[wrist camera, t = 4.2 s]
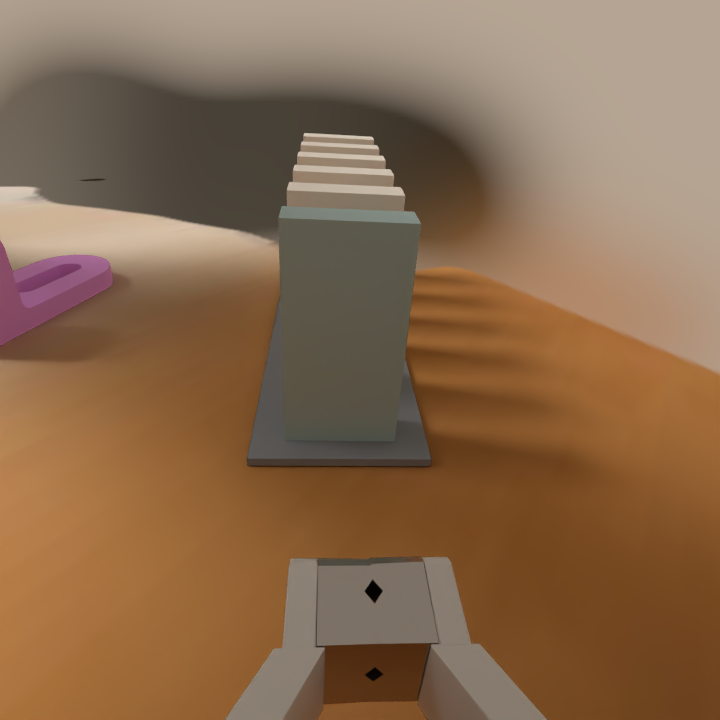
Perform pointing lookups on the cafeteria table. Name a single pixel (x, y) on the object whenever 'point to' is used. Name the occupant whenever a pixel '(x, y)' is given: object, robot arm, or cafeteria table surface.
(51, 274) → the bracket
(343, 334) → the domino
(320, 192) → the domino
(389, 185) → the domino
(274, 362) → the mat
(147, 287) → the cafeteria table surface
